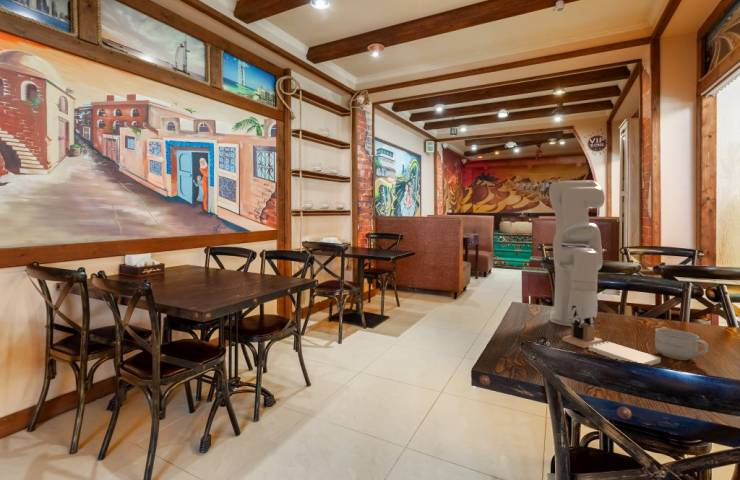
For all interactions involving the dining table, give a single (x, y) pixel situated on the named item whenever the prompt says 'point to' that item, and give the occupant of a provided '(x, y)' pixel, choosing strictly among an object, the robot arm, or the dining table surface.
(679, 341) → the teacup
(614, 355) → the ticket pad
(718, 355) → the dining table surface
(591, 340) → the stub
